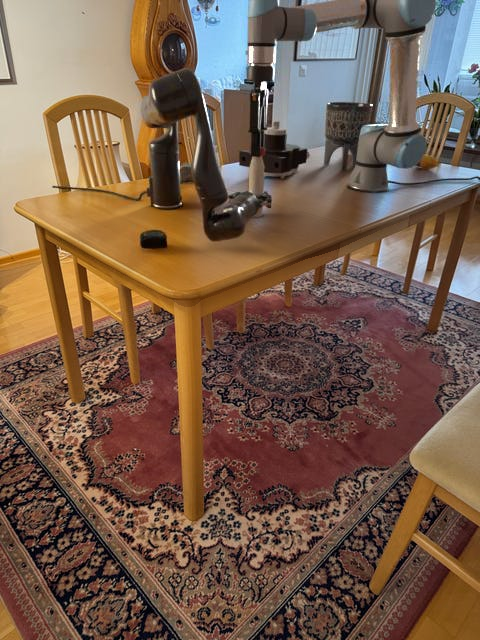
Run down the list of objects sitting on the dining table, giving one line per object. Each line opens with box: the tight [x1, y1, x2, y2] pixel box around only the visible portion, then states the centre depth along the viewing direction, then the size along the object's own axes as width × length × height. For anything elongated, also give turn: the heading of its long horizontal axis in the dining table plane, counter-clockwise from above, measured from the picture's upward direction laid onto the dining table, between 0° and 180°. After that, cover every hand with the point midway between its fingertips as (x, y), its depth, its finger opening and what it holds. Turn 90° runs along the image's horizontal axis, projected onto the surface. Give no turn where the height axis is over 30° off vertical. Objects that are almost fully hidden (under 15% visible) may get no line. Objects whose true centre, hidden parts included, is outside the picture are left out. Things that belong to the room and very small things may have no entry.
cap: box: [249, 146, 265, 156], centre depth 134 cm, size 4×4×2 cm
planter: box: [323, 101, 374, 172], centre depth 204 cm, size 20×20×26 cm
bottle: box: [248, 156, 265, 218], centre depth 139 cm, size 4×4×20 cm
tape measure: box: [139, 229, 168, 250], centre depth 117 cm, size 7×7×4 cm
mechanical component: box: [238, 120, 311, 179], centre depth 191 cm, size 22×21×30 cm
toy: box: [414, 154, 440, 170], centre depth 211 cm, size 11×6×15 cm
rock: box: [179, 161, 194, 184], centre depth 179 cm, size 13×9×6 cm, turn 131°
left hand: (257, 193), depth 143 cm, fingers closed on bottle, 4 cm apart
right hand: (257, 154), depth 135 cm, fingers closed on cap, 4 cm apart
